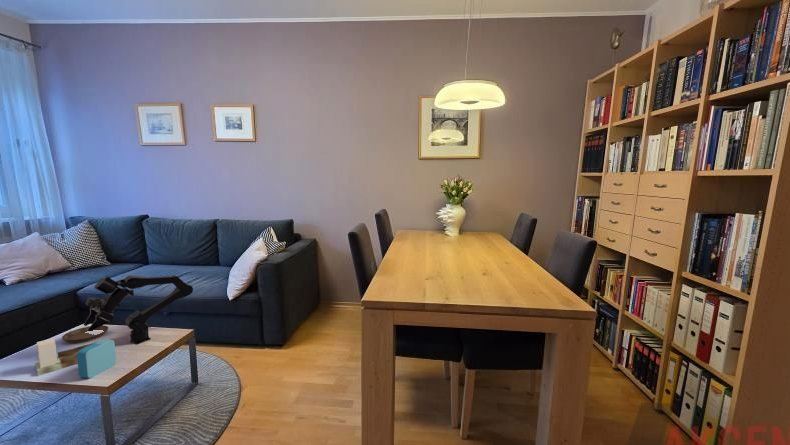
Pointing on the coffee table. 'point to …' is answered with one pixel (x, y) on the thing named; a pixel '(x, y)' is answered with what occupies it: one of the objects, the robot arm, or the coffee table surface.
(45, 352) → the cream block
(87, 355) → the data package
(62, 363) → the walnut channel
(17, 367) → the coffee table surface
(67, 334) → the plant saucer
